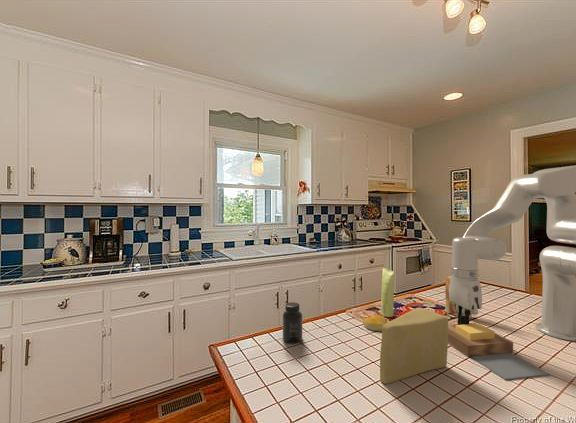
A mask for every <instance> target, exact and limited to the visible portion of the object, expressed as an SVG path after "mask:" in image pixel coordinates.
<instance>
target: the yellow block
mask: <svg viewBox="0 0 576 423" xmlns="http://www.w3.org/2000/svg"><path fill="white" fill-rule="evenodd" d="M476 323H477V322H476ZM455 332H457V333H459V334H460V335H462V336H464V337H465V338H467V339H469V340H480V339H491V338H495V333H496V332H495V331H494V330H492V329H491V328H488V327H486V326H484V325H482V324H480V323H479V322H478V323H477V324H465V325H456V327H455Z"/></svg>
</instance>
